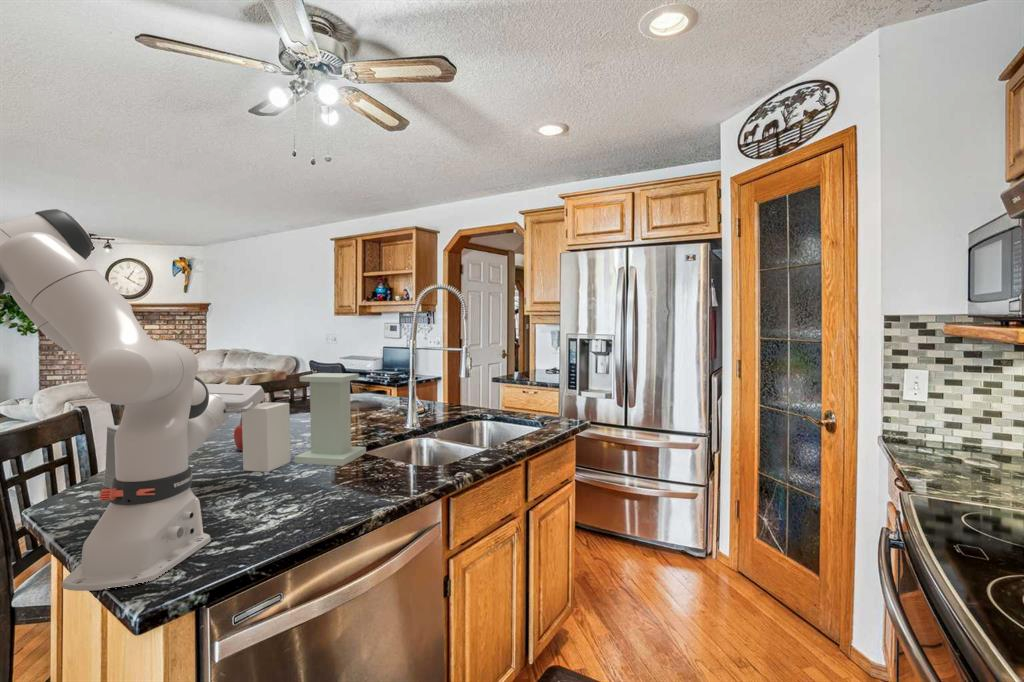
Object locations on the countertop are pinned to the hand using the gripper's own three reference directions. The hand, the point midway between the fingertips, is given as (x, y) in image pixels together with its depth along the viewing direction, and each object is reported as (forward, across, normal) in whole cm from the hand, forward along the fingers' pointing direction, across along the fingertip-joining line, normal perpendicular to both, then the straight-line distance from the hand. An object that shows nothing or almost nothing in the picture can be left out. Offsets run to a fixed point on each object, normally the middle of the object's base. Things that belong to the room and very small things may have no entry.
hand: (242, 378), depth 133 cm
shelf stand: (+3, -15, +33) cm, 36 cm away
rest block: (-6, -1, +28) cm, 28 cm away
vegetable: (+8, +17, +36) cm, 40 cm away
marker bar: (+3, 0, +4) cm, 5 cm away
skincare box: (-25, +23, +17) cm, 38 cm away
